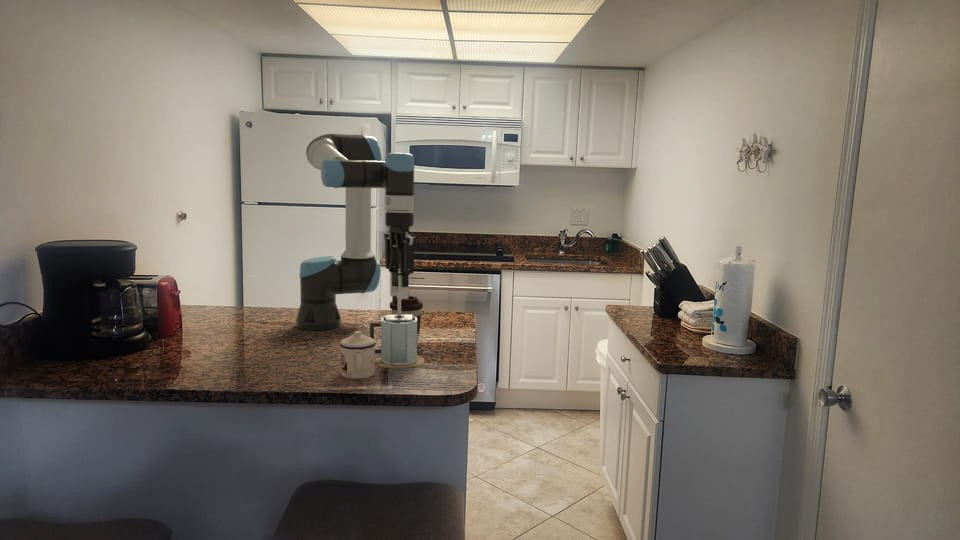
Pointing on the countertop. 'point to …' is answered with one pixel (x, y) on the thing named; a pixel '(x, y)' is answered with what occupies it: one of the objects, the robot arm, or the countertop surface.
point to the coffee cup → (409, 309)
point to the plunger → (395, 283)
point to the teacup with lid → (357, 356)
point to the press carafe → (397, 339)
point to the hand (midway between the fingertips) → (399, 296)
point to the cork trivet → (379, 363)
